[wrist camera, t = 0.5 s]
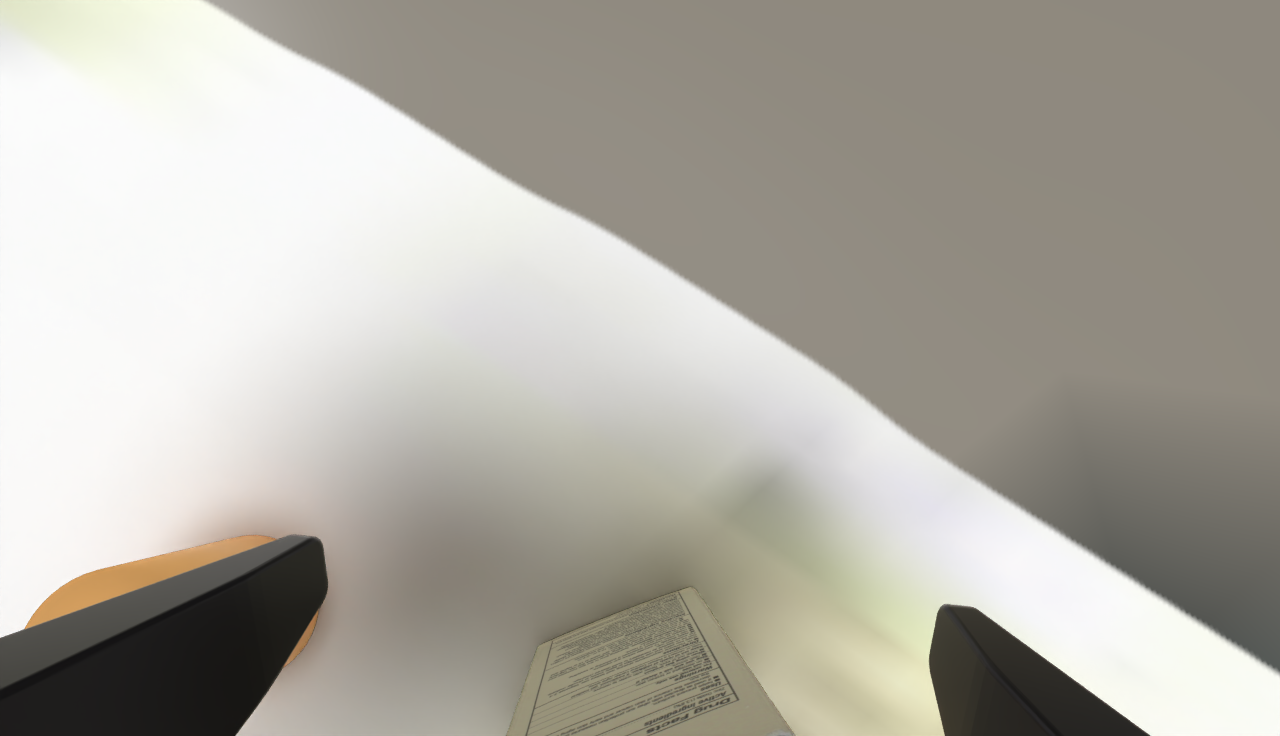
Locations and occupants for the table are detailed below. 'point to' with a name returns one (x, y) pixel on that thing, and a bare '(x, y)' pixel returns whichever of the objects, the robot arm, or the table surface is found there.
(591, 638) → the skincare box
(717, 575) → the table surface
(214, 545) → the orange cylinder
